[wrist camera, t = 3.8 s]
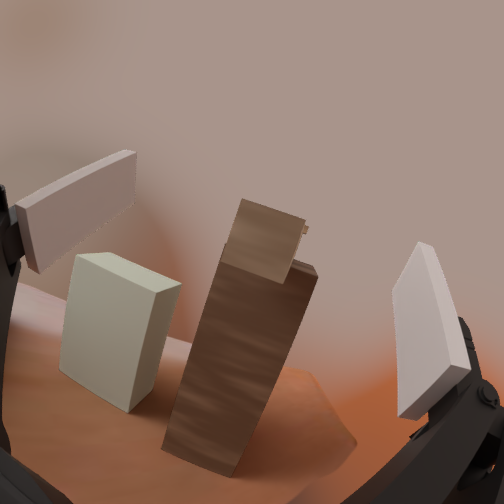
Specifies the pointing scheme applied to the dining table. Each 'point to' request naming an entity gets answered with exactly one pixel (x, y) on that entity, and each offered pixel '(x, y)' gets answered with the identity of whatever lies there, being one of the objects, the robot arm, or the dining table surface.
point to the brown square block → (263, 241)
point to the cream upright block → (116, 327)
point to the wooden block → (235, 363)
